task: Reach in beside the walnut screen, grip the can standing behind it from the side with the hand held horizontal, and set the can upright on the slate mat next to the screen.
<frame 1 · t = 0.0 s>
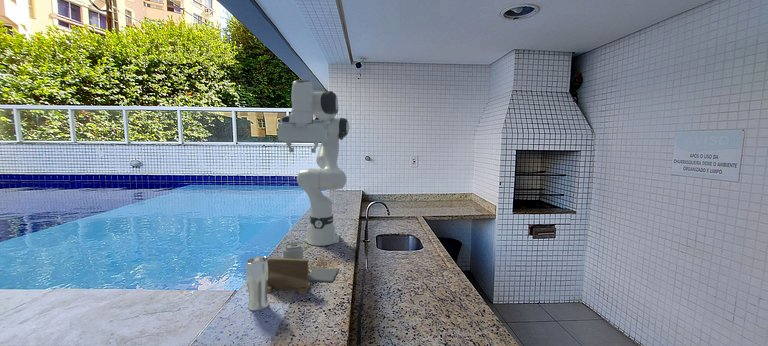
hand: (302, 152, 130), 48 cm above the counter, tool pointing down, fingers open, 8 cm apart
slate mat: (322, 275, 122), on the counter
beer glass: (258, 306, 98), on the counter
can: (293, 274, 122), on the counter
walnut screen: (288, 289, 109), on the counter
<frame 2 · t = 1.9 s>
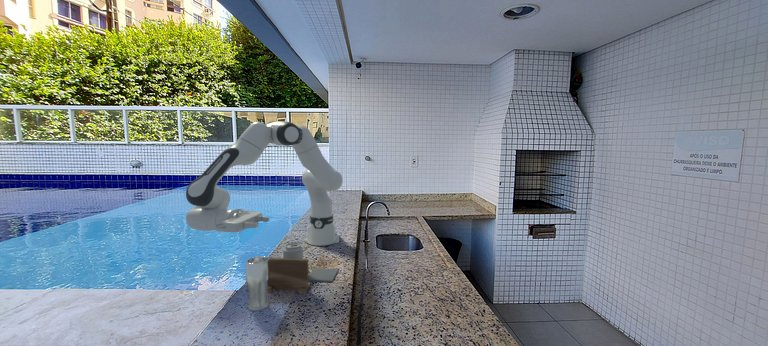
hand: (263, 222, 121), 20 cm above the counter, tool horizontal, fingers open, 8 cm apart
nothing on the counter moved.
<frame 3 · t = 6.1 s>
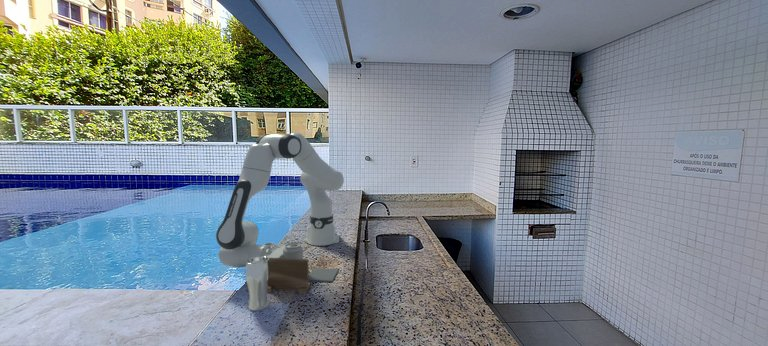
hand: (295, 258, 122), 7 cm above the counter, tool horizontal, fingers closed on can, 7 cm apart
can: (293, 274, 122), on the counter, touching gripper
everything else where it was.
when the fingers open (8 cm above the counter, at t = 11.5 s): can stays where it is, resting on slate mat.
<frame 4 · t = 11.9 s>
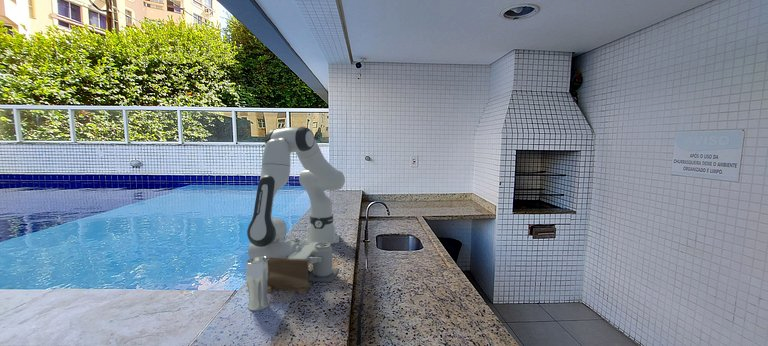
hand: (325, 255, 121), 8 cm above the counter, tool horizontal, fingers open, 8 cm apart
can: (322, 274, 121), resting on slate mat
everything else where it was.
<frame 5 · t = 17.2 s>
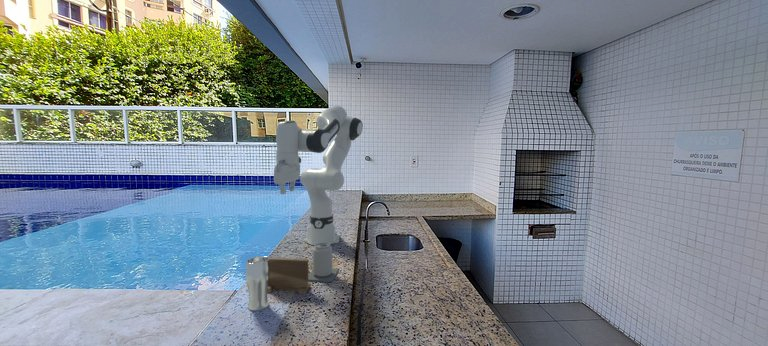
hand: (287, 192, 130), 31 cm above the counter, tool pointing down, fingers open, 8 cm apart
nothing on the counter moved.
at the end: can inside the target area on the slate mat (0.2 cm from its centre), point 0.4 cm above the slate mat's base; can tilted 0°; the gripper is holding nothing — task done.
